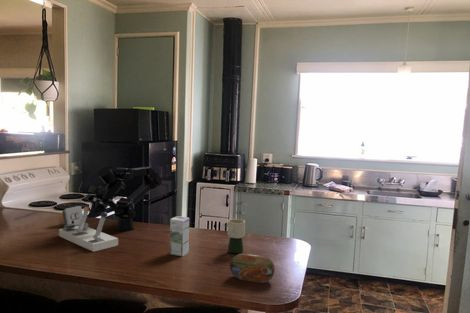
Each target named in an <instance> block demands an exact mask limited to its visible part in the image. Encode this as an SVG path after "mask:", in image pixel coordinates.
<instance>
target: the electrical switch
mask: <svg viewBox="0 0 470 313" xmlns="http://www.w3.org/2000/svg"><path fill="white" fill-rule="evenodd" d="M82 208H83V207H82V205H78V206H72V207H67V208H64V210H62V212H61V213H62V217H63V224H64V225H68V224H74V225H75V226H79V224H80V222H81V219H82V216H83V213H84V212H83V209H82Z"/></svg>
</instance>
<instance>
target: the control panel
mask: <svg viewBox="0 0 470 313" xmlns="http://www.w3.org/2000/svg"><path fill="white" fill-rule="evenodd" d="M78 227H79V225H76V226H75V227H74V228H69V229H67V228H64V227H63V228H60V229H58V236H59V237H61V238H62V239H65V240H67V241H69V242H71V243H73V244H76V245H77V246H80V247H82V248H84V249H87V250H88V251H91V252H97V251H101V250H105V249H110V248H114V247H117V246H119V238H118V237H116V236H113V235H110V234H107V233H105V232H102V231H101V233H100V236H99V237H100V240H96V239H93V236H94V235H95V233H96V230H97V229H94V228H91V227H89V226H88V229H84V230H83V233H79V232H77V231H76V230H77V229H78Z"/></svg>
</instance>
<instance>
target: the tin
mask: <svg viewBox="0 0 470 313" xmlns="http://www.w3.org/2000/svg"><path fill="white" fill-rule="evenodd" d="M229 269H230V272H231V274H232V275H233V276H234V277H235V279H238V280H241V281H246V282H253V283H260V284H266V283H268V282H270V281H271V280H272V278H273V276H274V275H275V270H276V269H275V264H274V262H273V261H272V260H271V259H270V258H269V257H267V256H266V255H265V256H264V255H258V254H257V255H256V254H249V253H245V252H244V253H243V252H242V253H237V254H236V255H234V256H233V257H232V258H231V260H230V262H229Z"/></svg>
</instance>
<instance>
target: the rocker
mask: <svg viewBox="0 0 470 313" xmlns="http://www.w3.org/2000/svg"><path fill="white" fill-rule="evenodd" d="M74 227H75V225H74V224H68V225H65V224H64V225H63V229H64V228H67V229H69V228H74Z"/></svg>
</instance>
